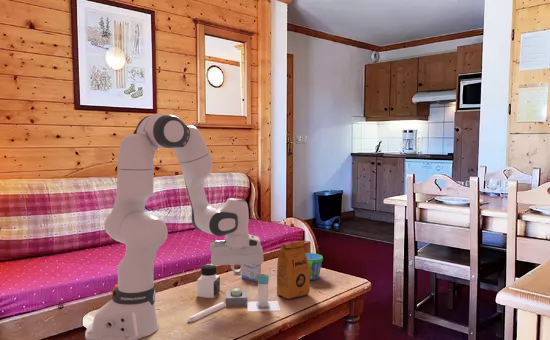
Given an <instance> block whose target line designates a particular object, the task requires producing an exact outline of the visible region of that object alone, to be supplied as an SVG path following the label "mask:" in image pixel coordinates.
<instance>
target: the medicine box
mask: <svg viewBox="0 0 550 340" xmlns="http://www.w3.org/2000/svg"><path fill="white" fill-rule="evenodd" d="M260 274H262V264H244V268H243V270H242V271H241V279H244V280H248V281H251V282H252V281H253V282H258V275H260Z"/></svg>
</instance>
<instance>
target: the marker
mask: <svg viewBox="0 0 550 340" xmlns="http://www.w3.org/2000/svg"><path fill="white" fill-rule="evenodd" d="M225 307H226V302H224V301H221V302H219V303H217V304H215V305H213V306H210V307H208V308H206V309H203V310H201V311H199V312H197V313H195V314H193V315H190V316H189V317H188V319H187V320H186V321H187V323H194V322H196V321H198V320H200V319H203V318H205V317H206V316H209V315H210V314H213V313H214V312H216V311H219V310H221V309H224V308H225Z"/></svg>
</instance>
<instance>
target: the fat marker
mask: <svg viewBox="0 0 550 340" xmlns="http://www.w3.org/2000/svg"><path fill="white" fill-rule="evenodd" d="M257 301H258V307H261V308H265V307H268V301H269V274H266V273H265V274H264V273H261V274H260V275H258V280H257Z"/></svg>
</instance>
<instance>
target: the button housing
mask: <svg viewBox="0 0 550 340" xmlns="http://www.w3.org/2000/svg"><path fill="white" fill-rule="evenodd" d="M247 292H248V291H247V289H241V296H232V289H231V290H226V289H225V307H227V306H231V307H233V306H247V302H248V293H247Z"/></svg>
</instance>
